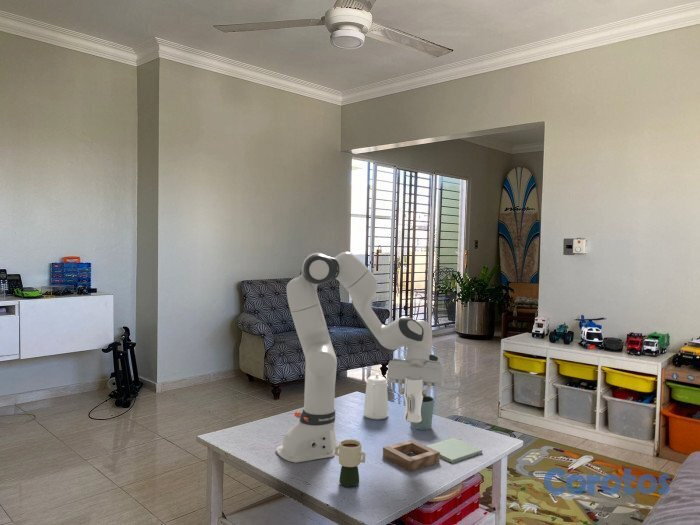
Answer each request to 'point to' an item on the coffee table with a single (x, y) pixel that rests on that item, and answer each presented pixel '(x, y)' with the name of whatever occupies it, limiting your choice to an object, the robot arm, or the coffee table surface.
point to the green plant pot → (425, 414)
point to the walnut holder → (422, 458)
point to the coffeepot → (376, 398)
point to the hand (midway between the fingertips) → (413, 394)
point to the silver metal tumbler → (413, 399)
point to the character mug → (349, 461)
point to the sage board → (454, 450)
